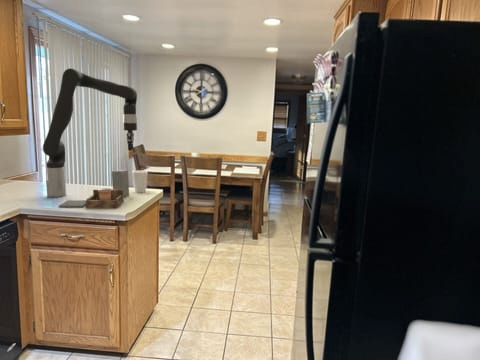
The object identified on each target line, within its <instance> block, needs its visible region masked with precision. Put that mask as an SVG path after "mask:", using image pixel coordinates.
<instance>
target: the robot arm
mask: <svg viewBox="0 0 480 360" xmlns="http://www.w3.org/2000/svg"><path fill="white" fill-rule="evenodd" d="M77 87H82V88H89V89H93V90H97V92H101V93H104V94H108V95H111V96H116V97H120V98H123V99H124V104H123V106H122V107H123V115H122V119H123V120H122V123H123V124H122V127H123V130H124V131H126V132H127V133H126V143H127V151H130V152H132V151H133V149H134V142H135V133H134V131H135V132H136V131H137V130H138V121H137V120H138V119H137V117H138V116H137V101H138V93H137V90H136V89H135V88H133V87H131V86H127V85H123V84H120V83H116V82H113V81H110V80H106V79H103V78H102V79H100V78H96V77H93V76H90V75H87V74H86V73H83V72H81V71H80V70H77V69H75V68H66V70H64V71H63V73H62V76H61V84H60V90H59V93H58V96H57V99H56V103H55V106H54V109H53V113H52V117H51V121H50V125H49V129H48V131H47V135H46V137H45V139H44V142H43V144H42V150H43V153H44V154H45V155H46V156H48V160H47V161H46V174H47V175H46V176H47V179H46V180H45V183H46V196H47V197H49V198H60V197H64V196H65V197H66V196H67V191H66V190H67V188H66V174H65V162H66V149H65V148H66V146H65V144H64V142H63V141H62V140H61V139H62V136H63V134H64V132H65V131H66V129H67V127H68V125H69V124H70V122H71V119H72V117H73V112H74V94H75V91H76V88H77Z"/></svg>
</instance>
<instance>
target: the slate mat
mask: <svg viewBox="0 0 480 360" xmlns="http://www.w3.org/2000/svg"><path fill="white" fill-rule="evenodd" d="M59 207H61V208H69V209H71V208H74V209H75V208H76V209H77V208H79V209H80V208H85V207H86V200H81V199H77V200H76V199H75V200H74V199H73V200H71V199H69V200H68V199H67V200H66V201H65V202H62V203H60V204H59V205H58V208H59ZM61 208H60V209H61Z"/></svg>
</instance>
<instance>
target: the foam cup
mask: <svg viewBox="0 0 480 360" xmlns="http://www.w3.org/2000/svg"><path fill="white" fill-rule="evenodd" d="M148 173H149V171H148V170H144V169H143V170H133V171H132V174H131V175H132V180H133V185H134V191H135V193H144V192H146V190H147V181H148Z"/></svg>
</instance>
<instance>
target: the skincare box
mask: <svg viewBox="0 0 480 360" xmlns="http://www.w3.org/2000/svg"><path fill="white" fill-rule="evenodd" d="M111 179H112V181H111V182H112V183H111V184H112V190H123V197H127V196H130V187H129V170H128V169H117V170H116V169H115V170H111Z"/></svg>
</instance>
